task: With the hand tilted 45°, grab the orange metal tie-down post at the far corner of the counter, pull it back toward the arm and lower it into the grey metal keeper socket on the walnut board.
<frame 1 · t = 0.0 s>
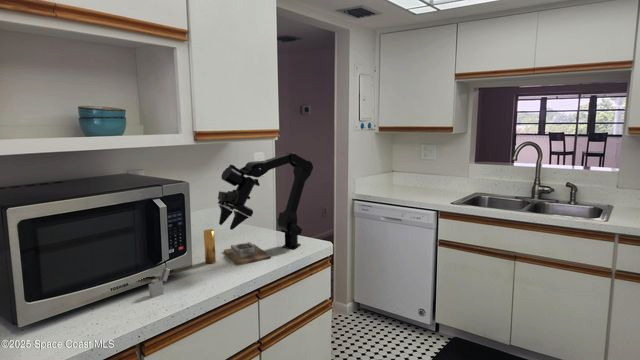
hand: (225, 226, 156), 15 cm above the counter, tool tilted 35°, fingers open, 9 cm apart
post: (210, 262, 160), on the counter
keeper: (244, 255, 167), on the counter
lighter: (160, 294, 132), on the counter
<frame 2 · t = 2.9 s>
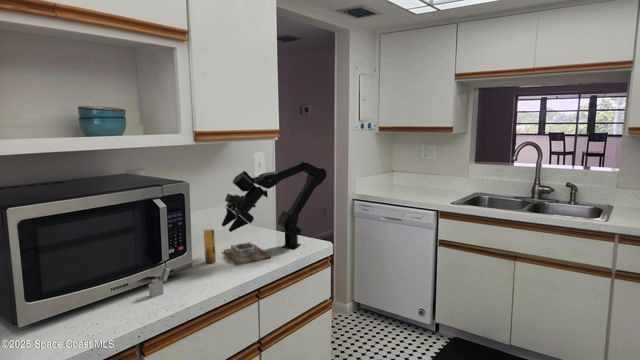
hand: (225, 228, 162), 13 cm above the counter, tool tilted 45°, fingers open, 9 cm apart
nothing on the counter moved.
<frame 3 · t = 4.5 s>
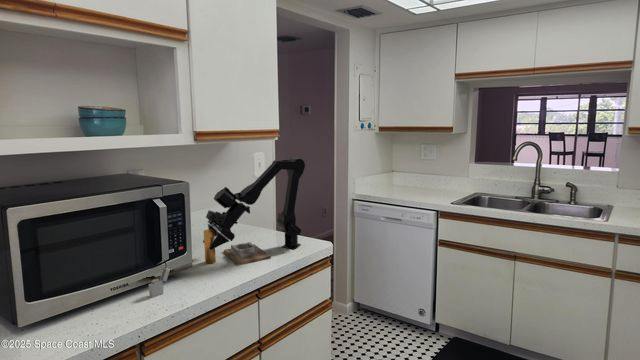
hand: (206, 245, 158), 7 cm above the counter, tool tilted 45°, fingers open, 9 cm apart
nothing on the counter moved.
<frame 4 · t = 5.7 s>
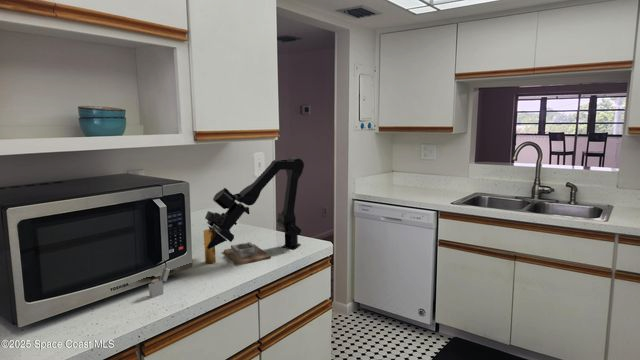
hand: (206, 246, 158), 7 cm above the counter, tool tilted 45°, fingers closed on post, 4 cm apart
post: (210, 262, 160), on the counter, touching gripper
everything else where it was.
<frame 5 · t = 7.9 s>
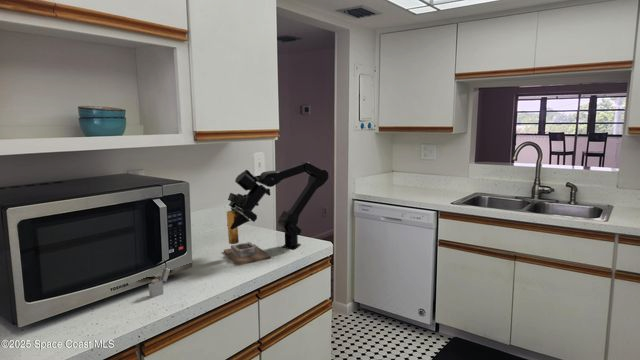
hand: (229, 227, 162), 13 cm above the counter, tool tilted 45°, fingers closed on post, 4 cm apart
post: (233, 242, 164), point 6 cm above the counter, touching gripper
everything else where it was.
when the fingers open (9 cm above the counter, at t = 10.1 s): post drops 1 cm, resting on keeper.
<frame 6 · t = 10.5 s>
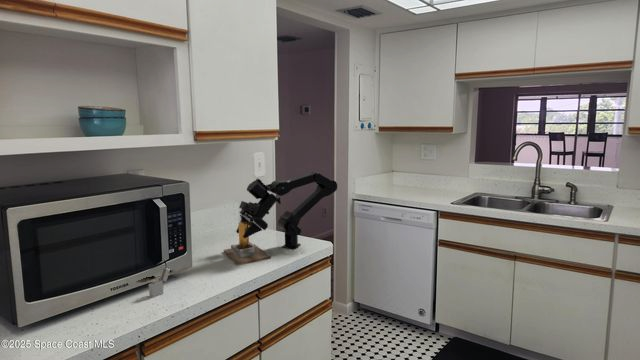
hand: (240, 235, 165), 9 cm above the counter, tool tilted 45°, fingers open, 8 cm apart
post: (244, 253, 167), point 1 cm above the counter, touching keeper
everything else where it was.
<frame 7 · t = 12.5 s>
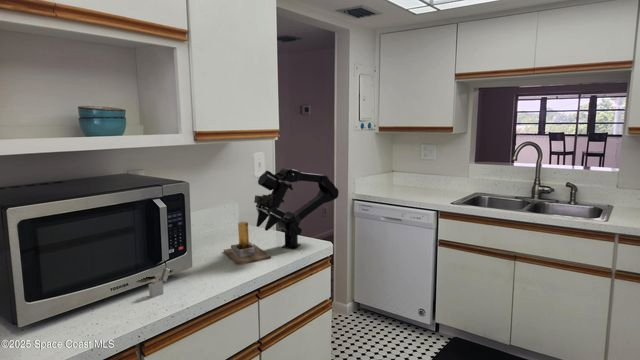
hand: (261, 228, 168), 11 cm above the counter, tool tilted 30°, fingers open, 9 cm apart
nothing on the counter moved.
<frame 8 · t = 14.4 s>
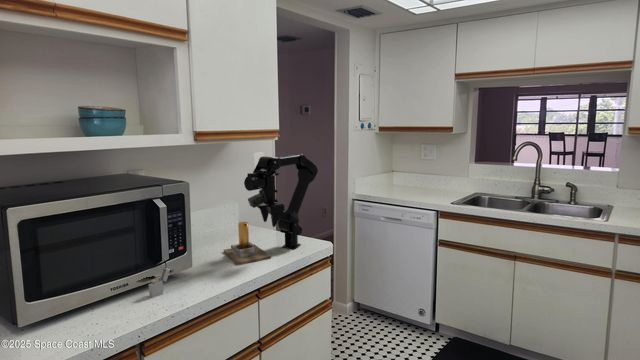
hand: (269, 224, 166), 13 cm above the counter, tool pointing down, fingers open, 9 cm apart
nothing on the counter moved.
at the end: post 0.1 cm off-centre on the keeper, point 1.0 cm above the keeper's base; post tilted 0°; the gripper is holding nothing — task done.
